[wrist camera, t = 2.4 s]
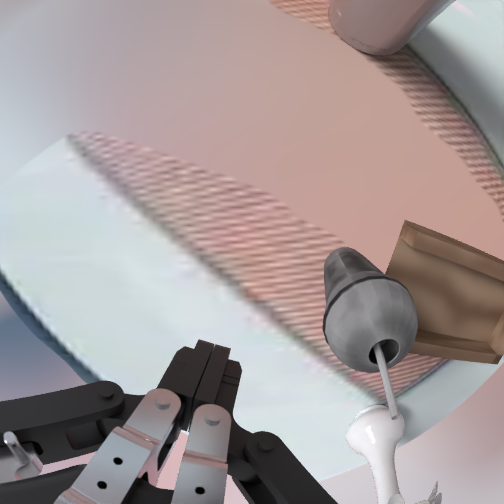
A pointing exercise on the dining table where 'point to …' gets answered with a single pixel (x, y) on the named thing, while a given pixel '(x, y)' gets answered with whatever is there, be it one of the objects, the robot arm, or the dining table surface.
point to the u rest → (451, 295)
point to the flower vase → (381, 450)
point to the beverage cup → (367, 317)
